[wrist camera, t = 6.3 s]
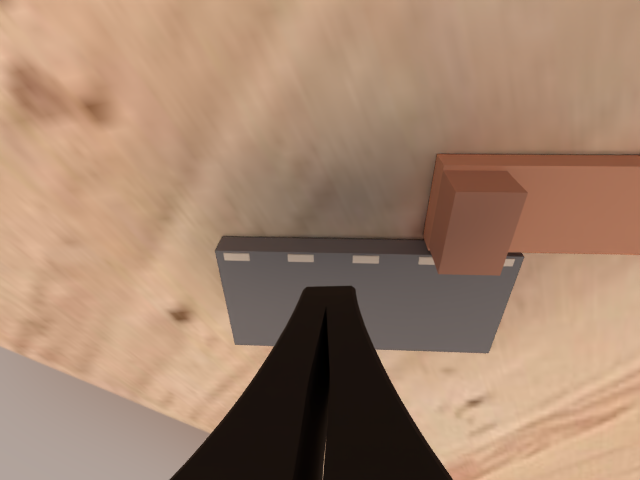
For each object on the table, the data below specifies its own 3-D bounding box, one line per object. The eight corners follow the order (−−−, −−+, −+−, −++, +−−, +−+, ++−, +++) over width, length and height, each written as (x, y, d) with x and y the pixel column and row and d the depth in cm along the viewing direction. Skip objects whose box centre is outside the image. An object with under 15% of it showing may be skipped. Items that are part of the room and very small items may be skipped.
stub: (693, 155, 14) (771, 189, 12) (644, 240, 16) (700, 284, 14) (437, 154, 15) (456, 186, 12) (423, 235, 17) (437, 278, 14)
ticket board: (513, 241, 17) (524, 257, 16) (481, 336, 21) (488, 354, 20) (222, 236, 18) (214, 251, 17) (240, 328, 21) (234, 345, 20)
